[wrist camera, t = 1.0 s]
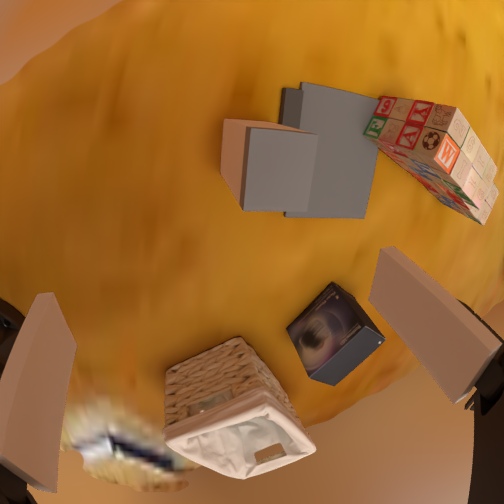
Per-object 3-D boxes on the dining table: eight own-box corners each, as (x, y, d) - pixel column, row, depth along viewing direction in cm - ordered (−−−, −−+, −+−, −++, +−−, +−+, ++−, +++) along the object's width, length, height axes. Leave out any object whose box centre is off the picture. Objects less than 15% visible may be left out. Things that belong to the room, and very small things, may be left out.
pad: (268, 215, 36) (271, 219, 35) (283, 79, 28) (287, 78, 27) (361, 217, 39) (366, 220, 38) (382, 101, 32) (388, 102, 31)
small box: (330, 279, 43) (366, 324, 34) (354, 296, 46) (388, 339, 37) (283, 328, 45) (307, 379, 36) (309, 340, 48) (335, 387, 40)
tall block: (220, 172, 32) (243, 211, 22) (223, 118, 29) (251, 128, 19) (264, 174, 33) (306, 211, 23) (269, 121, 30) (318, 135, 20)
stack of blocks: (457, 172, 40) (514, 200, 29) (442, 204, 42) (497, 236, 31) (381, 94, 30) (458, 106, 20) (361, 135, 33) (435, 159, 22)
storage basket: (153, 365, 43) (157, 447, 31) (244, 322, 43) (273, 405, 30) (224, 421, 56) (239, 482, 43) (294, 392, 56) (320, 451, 43)
